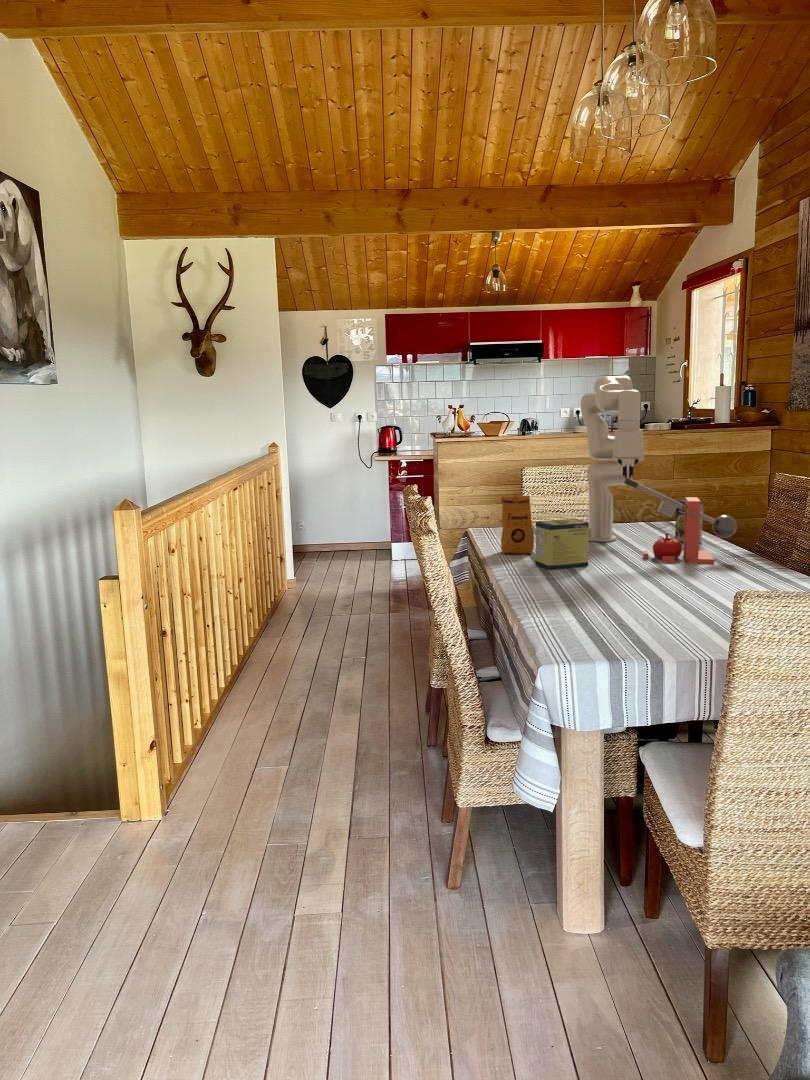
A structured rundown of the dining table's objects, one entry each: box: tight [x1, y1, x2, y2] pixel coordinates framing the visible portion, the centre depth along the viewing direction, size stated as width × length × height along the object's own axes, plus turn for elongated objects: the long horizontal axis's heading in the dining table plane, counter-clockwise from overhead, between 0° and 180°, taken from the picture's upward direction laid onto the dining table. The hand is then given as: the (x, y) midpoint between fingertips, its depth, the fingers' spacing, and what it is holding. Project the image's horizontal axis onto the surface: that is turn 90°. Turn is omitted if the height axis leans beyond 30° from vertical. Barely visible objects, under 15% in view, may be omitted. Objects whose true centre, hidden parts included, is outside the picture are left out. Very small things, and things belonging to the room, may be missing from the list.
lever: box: [624, 477, 738, 539], centre depth 278 cm, size 42×8×9 cm, turn 75°
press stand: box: [643, 496, 715, 565], centre depth 279 cm, size 23×16×21 cm
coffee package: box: [500, 495, 535, 555], centre depth 298 cm, size 10×12×22 cm
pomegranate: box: [652, 532, 683, 560], centre depth 281 cm, size 10×10×9 cm
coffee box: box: [674, 499, 704, 543], centre depth 312 cm, size 9×6×16 cm
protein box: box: [535, 518, 589, 571], centre depth 274 cm, size 10×16×16 cm
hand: (627, 477), depth 281 cm, fingers closed
